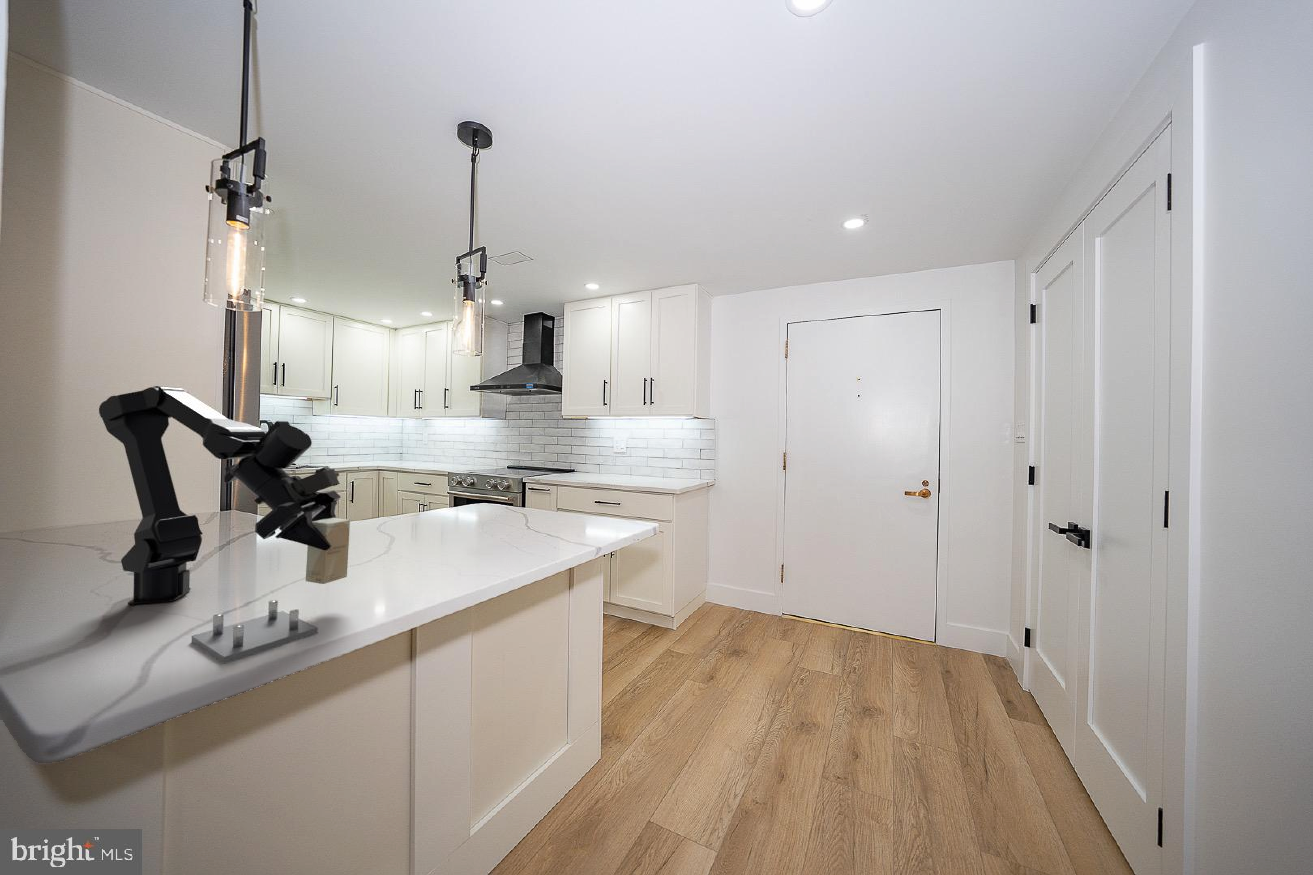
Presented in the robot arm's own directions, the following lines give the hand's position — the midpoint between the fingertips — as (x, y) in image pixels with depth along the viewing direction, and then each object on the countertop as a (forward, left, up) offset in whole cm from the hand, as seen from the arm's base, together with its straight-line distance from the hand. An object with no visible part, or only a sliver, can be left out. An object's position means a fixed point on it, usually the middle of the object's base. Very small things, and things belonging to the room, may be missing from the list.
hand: (336, 544), depth 88 cm
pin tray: (-9, -10, -12) cm, 18 cm away
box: (-1, 0, -7) cm, 7 cm away
